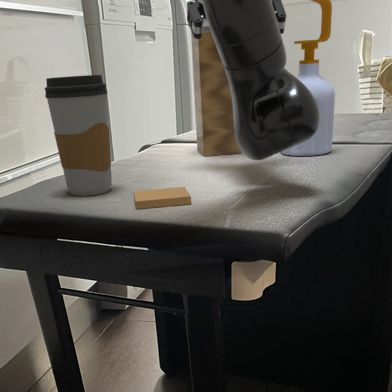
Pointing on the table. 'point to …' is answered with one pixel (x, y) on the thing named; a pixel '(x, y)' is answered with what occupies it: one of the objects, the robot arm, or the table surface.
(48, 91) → the coffee cup
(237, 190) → the table surface
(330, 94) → the soap bottle
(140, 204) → the tan flat block
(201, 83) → the stand
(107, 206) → the table surface
